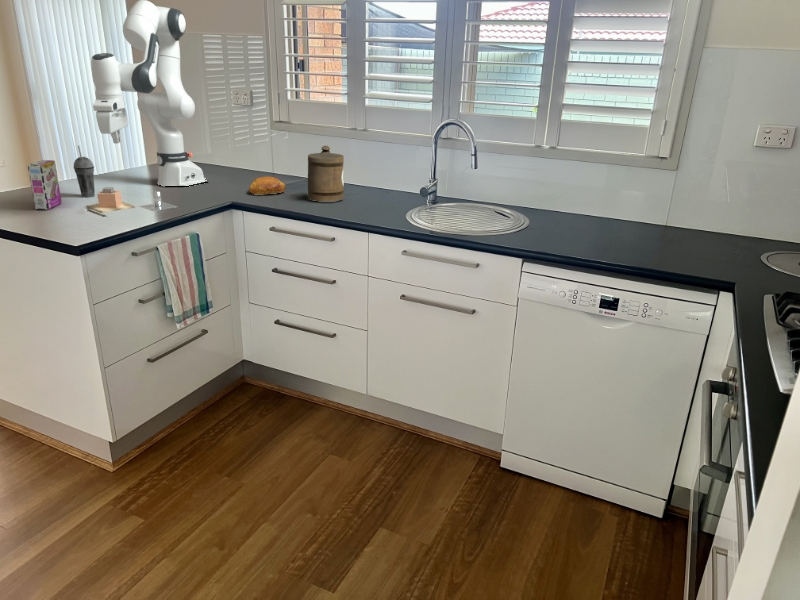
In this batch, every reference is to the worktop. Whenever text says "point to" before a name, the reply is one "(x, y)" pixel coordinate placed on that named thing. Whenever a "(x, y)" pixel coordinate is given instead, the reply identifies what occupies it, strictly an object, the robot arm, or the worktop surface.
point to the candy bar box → (44, 184)
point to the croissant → (266, 186)
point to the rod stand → (157, 203)
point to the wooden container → (325, 176)
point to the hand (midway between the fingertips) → (117, 142)
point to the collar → (109, 199)
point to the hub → (103, 210)
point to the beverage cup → (85, 175)
